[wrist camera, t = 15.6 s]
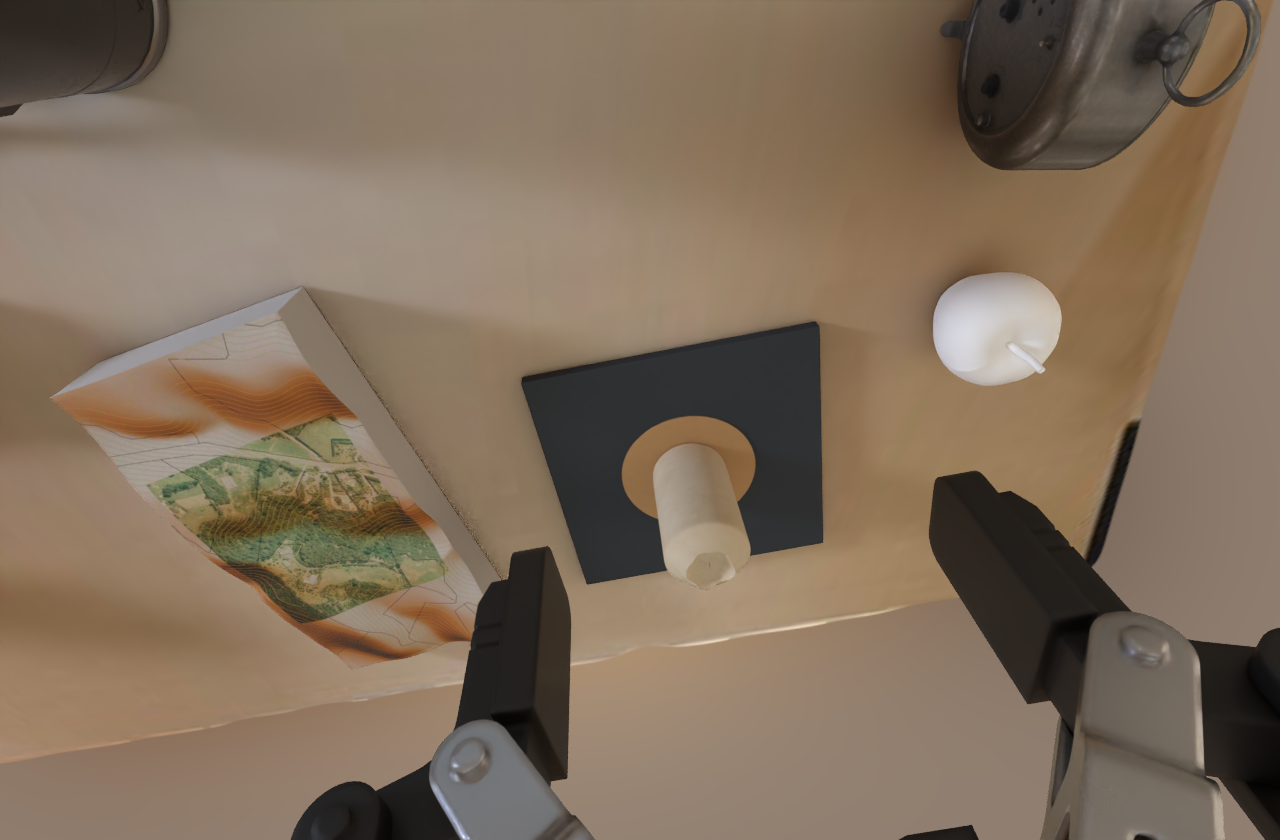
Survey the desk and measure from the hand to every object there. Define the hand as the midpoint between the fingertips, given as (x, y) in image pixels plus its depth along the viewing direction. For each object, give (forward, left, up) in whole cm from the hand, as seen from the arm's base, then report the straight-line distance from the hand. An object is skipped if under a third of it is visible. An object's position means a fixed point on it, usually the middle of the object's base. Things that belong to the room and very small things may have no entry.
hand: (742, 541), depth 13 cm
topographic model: (-26, -17, -28) cm, 42 cm away
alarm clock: (+19, +5, -28) cm, 34 cm away
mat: (0, -20, -28) cm, 34 cm away
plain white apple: (+20, -11, -28) cm, 36 cm away
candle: (0, -20, -27) cm, 34 cm away
